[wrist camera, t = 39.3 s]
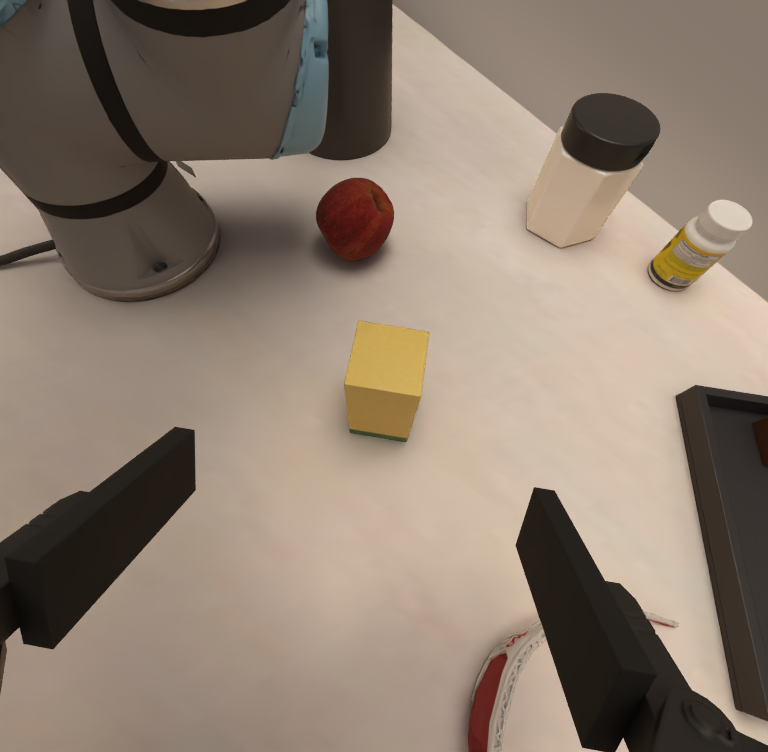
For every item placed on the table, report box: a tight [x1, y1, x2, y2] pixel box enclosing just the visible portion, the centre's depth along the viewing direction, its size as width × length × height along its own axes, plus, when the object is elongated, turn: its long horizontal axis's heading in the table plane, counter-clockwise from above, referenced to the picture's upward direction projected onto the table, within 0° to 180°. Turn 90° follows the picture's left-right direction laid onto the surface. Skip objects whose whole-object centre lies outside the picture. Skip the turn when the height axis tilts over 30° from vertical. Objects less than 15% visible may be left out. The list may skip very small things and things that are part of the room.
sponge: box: [344, 321, 429, 442], centre depth 31 cm, size 5×5×10 cm
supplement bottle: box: [648, 200, 752, 291], centre depth 40 cm, size 5×5×8 cm
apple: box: [316, 178, 394, 260], centre depth 40 cm, size 7×8×8 cm
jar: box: [527, 93, 660, 248], centre depth 41 cm, size 9×8×12 cm
